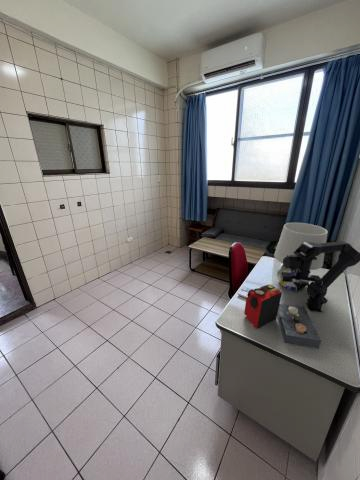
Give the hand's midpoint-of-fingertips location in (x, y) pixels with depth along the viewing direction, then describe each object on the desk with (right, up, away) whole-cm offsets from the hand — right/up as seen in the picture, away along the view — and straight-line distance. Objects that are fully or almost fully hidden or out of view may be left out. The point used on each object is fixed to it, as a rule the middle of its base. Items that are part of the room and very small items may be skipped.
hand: (297, 291), depth 109 cm
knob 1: (-5, -14, -2) cm, 14 cm away
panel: (-6, -16, -7) cm, 19 cm away
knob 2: (-7, -18, -13) cm, 23 cm away
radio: (-21, -14, -2) cm, 26 cm away
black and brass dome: (-6, -11, -9) cm, 16 cm away
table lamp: (+11, -2, +27) cm, 29 cm away
